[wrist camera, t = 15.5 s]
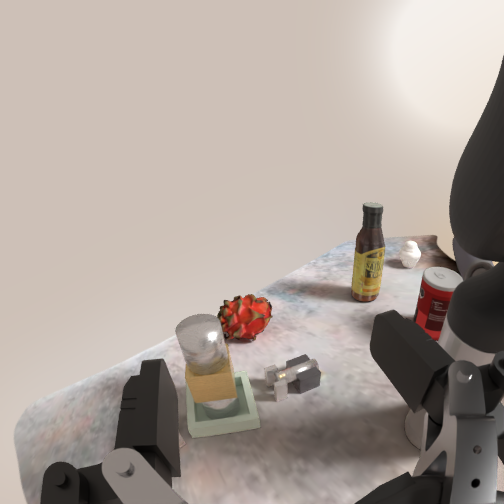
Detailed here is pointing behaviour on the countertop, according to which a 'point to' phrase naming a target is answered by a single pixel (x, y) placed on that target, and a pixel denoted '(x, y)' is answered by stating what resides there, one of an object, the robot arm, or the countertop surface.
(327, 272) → the countertop surface
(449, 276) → the canned food
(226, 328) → the dragon fruit
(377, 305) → the countertop surface
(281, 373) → the shaft
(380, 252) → the sauce bottle
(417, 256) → the muffin
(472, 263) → the bluetooth speaker
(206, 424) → the mint green tray
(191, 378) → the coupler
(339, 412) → the countertop surface
